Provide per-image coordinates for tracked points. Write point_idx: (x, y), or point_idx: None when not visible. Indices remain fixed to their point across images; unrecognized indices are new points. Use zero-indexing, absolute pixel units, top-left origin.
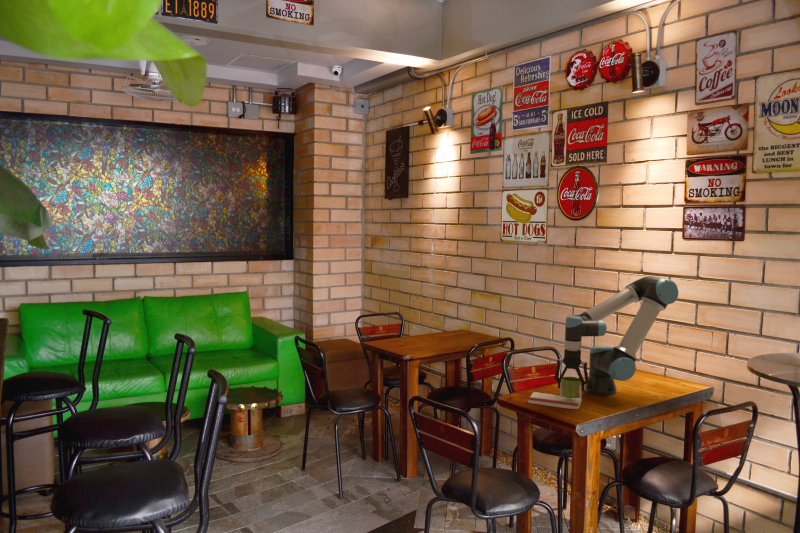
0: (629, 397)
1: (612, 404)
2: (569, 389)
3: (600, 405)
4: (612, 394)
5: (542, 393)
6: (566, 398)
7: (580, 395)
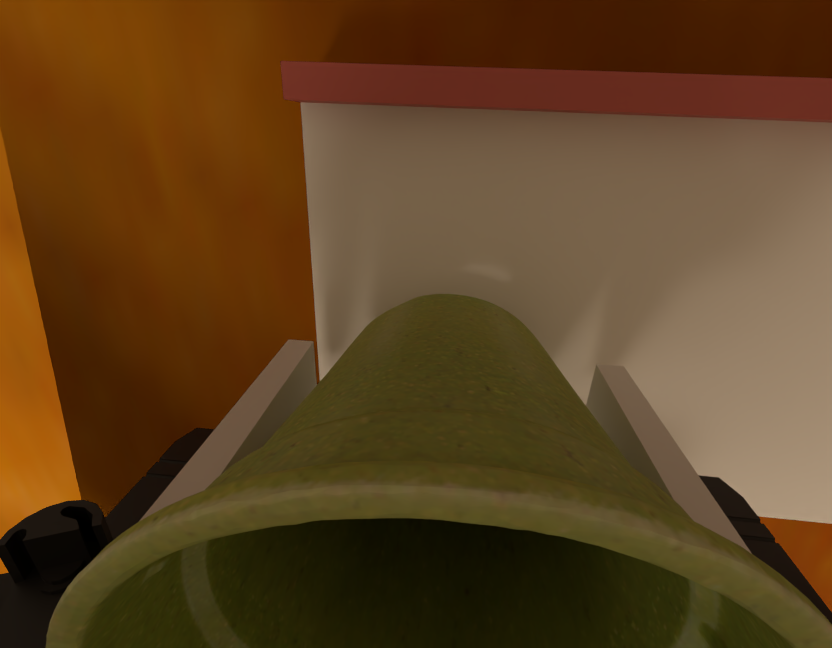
0: None
1: (50, 441)
2: (469, 352)
3: (130, 376)
4: None
5: (822, 509)
6: None
7: (276, 364)
